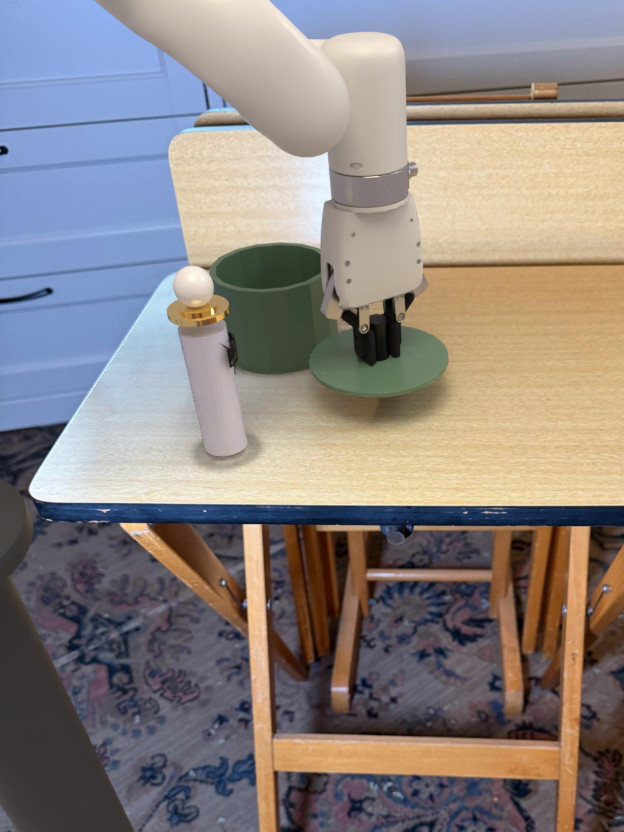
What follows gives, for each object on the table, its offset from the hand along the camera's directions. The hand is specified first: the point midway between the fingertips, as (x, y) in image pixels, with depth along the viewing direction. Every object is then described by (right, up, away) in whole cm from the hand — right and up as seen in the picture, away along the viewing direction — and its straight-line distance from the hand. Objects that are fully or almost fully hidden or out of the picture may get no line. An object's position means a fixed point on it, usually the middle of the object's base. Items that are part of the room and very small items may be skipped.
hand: (378, 355), depth 89 cm
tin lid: (0, -1, +1) cm, 1 cm away
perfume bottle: (-16, -11, -4) cm, 20 cm away
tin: (-13, +4, +14) cm, 19 cm away
